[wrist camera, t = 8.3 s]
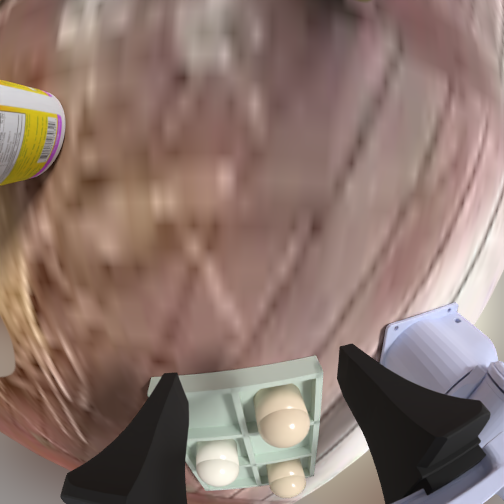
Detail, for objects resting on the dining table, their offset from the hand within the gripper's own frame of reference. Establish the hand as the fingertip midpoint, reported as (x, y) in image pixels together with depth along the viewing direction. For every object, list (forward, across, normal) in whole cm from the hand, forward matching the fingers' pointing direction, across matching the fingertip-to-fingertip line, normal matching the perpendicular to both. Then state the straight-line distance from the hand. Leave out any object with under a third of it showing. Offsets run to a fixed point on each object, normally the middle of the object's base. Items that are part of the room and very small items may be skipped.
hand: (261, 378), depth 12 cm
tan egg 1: (+9, -2, +12) cm, 14 cm away
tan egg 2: (+9, -2, +26) cm, 27 cm away
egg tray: (+9, +2, +18) cm, 21 cm away
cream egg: (+9, +6, +18) cm, 21 cm away
